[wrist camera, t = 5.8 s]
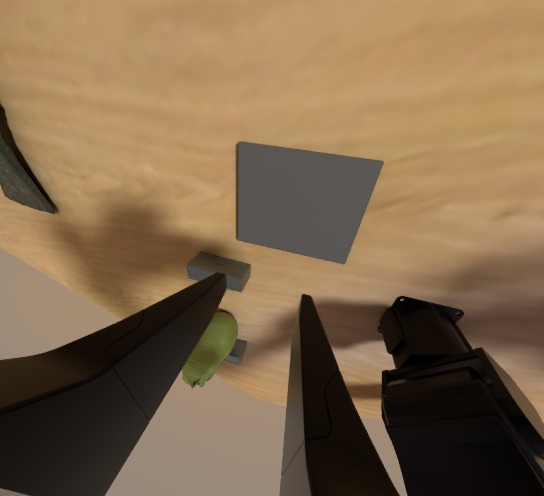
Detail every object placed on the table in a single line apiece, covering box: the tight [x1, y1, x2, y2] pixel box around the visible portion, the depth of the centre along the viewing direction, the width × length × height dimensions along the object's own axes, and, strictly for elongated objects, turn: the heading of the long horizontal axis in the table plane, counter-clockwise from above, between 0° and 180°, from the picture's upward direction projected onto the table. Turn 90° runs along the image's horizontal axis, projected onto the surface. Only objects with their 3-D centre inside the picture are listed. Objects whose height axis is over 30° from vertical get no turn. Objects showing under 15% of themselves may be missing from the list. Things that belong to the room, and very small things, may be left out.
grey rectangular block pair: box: [187, 252, 251, 365], centre depth 29 cm, size 7×19×3 cm, turn 174°
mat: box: [238, 142, 384, 264], centre depth 19 cm, size 12×10×1 cm
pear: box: [182, 312, 238, 388], centre depth 27 cm, size 6×5×10 cm
